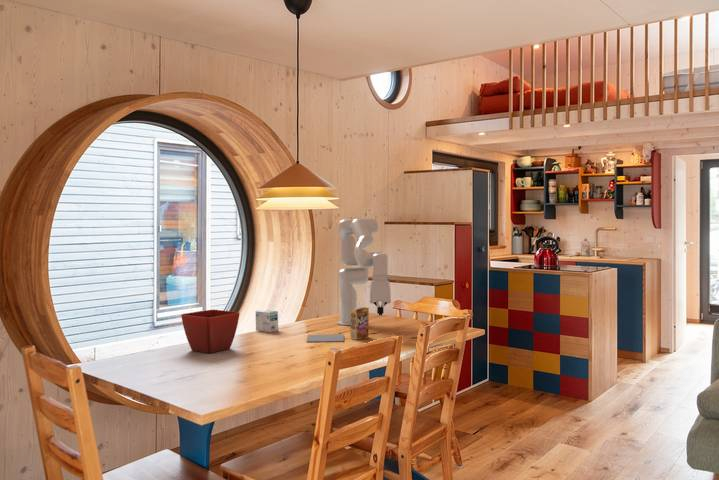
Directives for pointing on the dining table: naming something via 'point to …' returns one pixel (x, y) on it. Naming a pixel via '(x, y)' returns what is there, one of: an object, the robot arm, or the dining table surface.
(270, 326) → the light bulb box
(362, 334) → the candy box
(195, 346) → the plant pot
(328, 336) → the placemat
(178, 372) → the dining table surface
